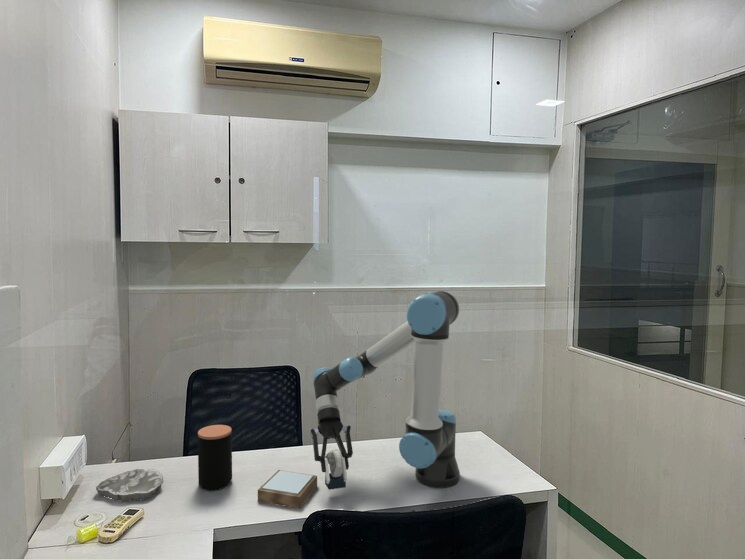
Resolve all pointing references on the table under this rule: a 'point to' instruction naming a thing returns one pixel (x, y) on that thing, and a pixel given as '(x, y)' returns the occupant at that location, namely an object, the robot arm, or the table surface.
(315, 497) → the table surface
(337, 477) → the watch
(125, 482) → the brain slice
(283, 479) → the walnut plinth
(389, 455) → the table surface
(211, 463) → the coffee jar
